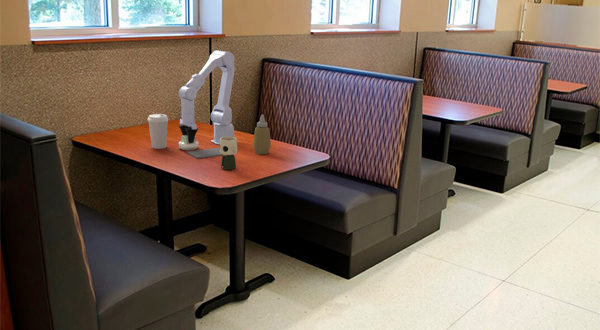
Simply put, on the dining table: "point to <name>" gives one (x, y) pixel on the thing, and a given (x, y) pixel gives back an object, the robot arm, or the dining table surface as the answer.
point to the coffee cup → (158, 130)
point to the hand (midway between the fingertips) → (188, 141)
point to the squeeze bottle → (262, 137)
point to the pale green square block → (186, 139)
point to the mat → (205, 153)
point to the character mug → (228, 152)
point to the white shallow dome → (188, 146)
